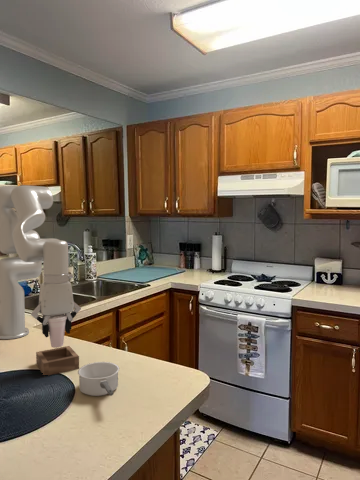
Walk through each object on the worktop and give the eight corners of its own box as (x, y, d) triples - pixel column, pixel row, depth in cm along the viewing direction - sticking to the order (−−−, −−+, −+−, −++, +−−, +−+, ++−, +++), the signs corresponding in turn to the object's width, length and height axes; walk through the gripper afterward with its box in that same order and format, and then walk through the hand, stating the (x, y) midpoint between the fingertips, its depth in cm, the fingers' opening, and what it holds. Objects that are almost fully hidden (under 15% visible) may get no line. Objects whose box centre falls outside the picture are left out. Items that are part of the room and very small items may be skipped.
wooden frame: (36, 363, 119) (36, 352, 118) (69, 357, 125) (69, 345, 124) (43, 376, 110) (43, 363, 109) (79, 368, 116) (79, 356, 115)
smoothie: (70, 342, 119) (69, 300, 118) (62, 349, 113) (61, 305, 112) (52, 341, 120) (51, 300, 119) (43, 348, 114) (41, 305, 113)
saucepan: (87, 419, 87) (87, 397, 87) (75, 384, 105) (74, 365, 105) (133, 409, 92) (133, 388, 92) (113, 377, 110) (113, 359, 110)
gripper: (79, 275, 123) (79, 326, 124) (25, 279, 114) (26, 335, 115) (86, 278, 117) (87, 332, 118) (29, 283, 107) (31, 342, 109)
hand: (57, 333), depth 116 cm, fingers closed on smoothie, 6 cm apart
